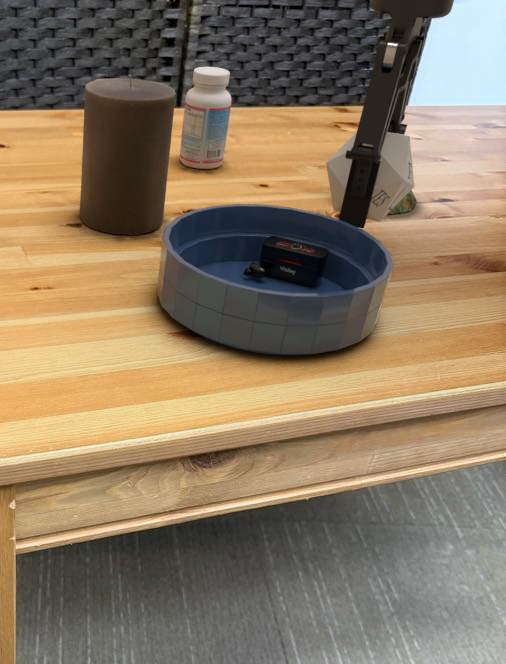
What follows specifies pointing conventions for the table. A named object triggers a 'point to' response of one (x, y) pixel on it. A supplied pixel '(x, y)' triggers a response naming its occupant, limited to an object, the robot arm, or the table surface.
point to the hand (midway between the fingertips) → (360, 209)
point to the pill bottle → (206, 119)
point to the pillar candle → (125, 154)
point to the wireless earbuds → (290, 261)
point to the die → (390, 179)
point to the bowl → (270, 280)
